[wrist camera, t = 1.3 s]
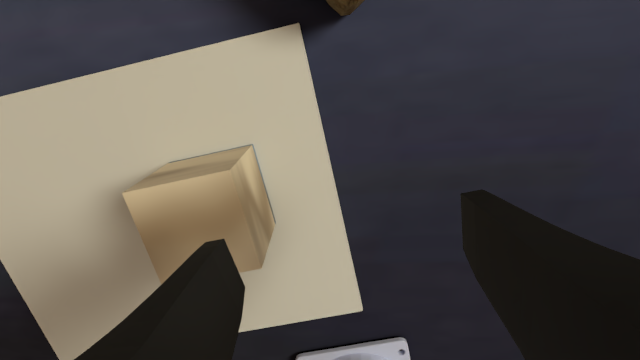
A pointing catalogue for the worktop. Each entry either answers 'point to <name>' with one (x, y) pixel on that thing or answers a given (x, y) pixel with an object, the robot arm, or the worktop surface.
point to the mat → (147, 157)
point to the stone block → (344, 6)
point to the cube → (204, 209)
